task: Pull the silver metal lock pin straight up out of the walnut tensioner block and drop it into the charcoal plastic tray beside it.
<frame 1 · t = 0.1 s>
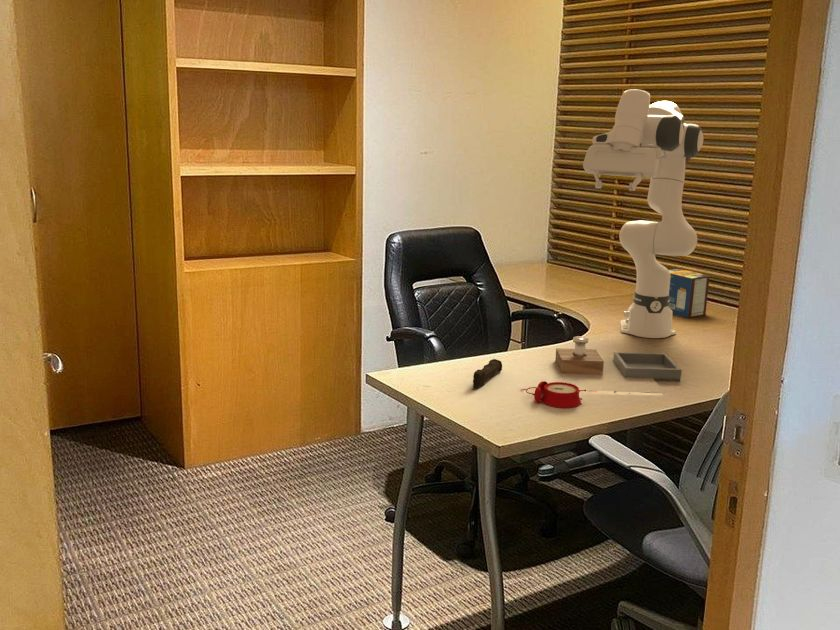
hand: (614, 188, 227), 54 cm above the table, tool tilted 30°, fingers open, 8 cm apart
hand tool: (486, 381, 234), on the table
protein box: (680, 312, 319), on the table
tray: (645, 371, 245), on the table
tensioner block: (578, 369, 245), on the table
alarm clock: (554, 402, 219), on the table
lock pin: (578, 367, 245), point 1 cm above the table, touching tensioner block
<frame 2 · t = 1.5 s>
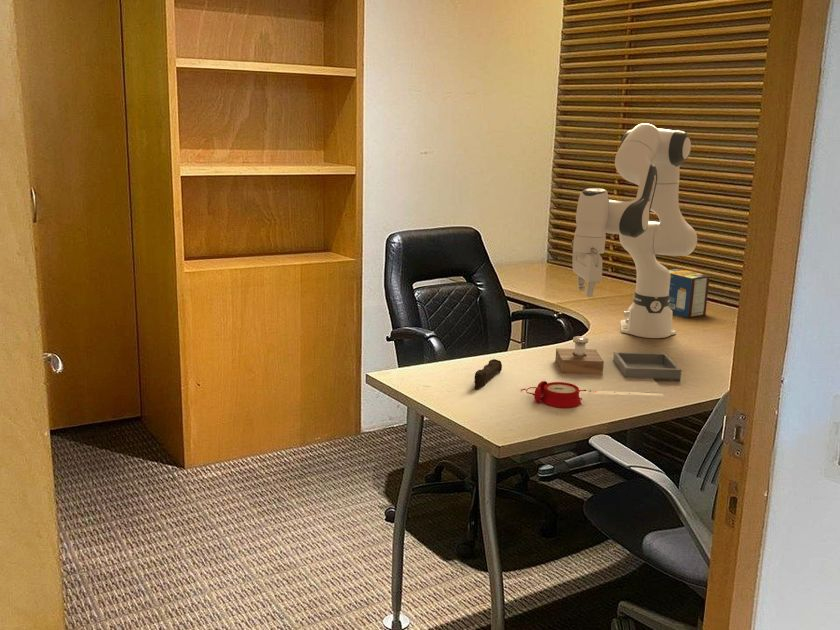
hand: (584, 293, 238), 24 cm above the table, tool pointing down, fingers open, 8 cm apart
nothing on the table moved.
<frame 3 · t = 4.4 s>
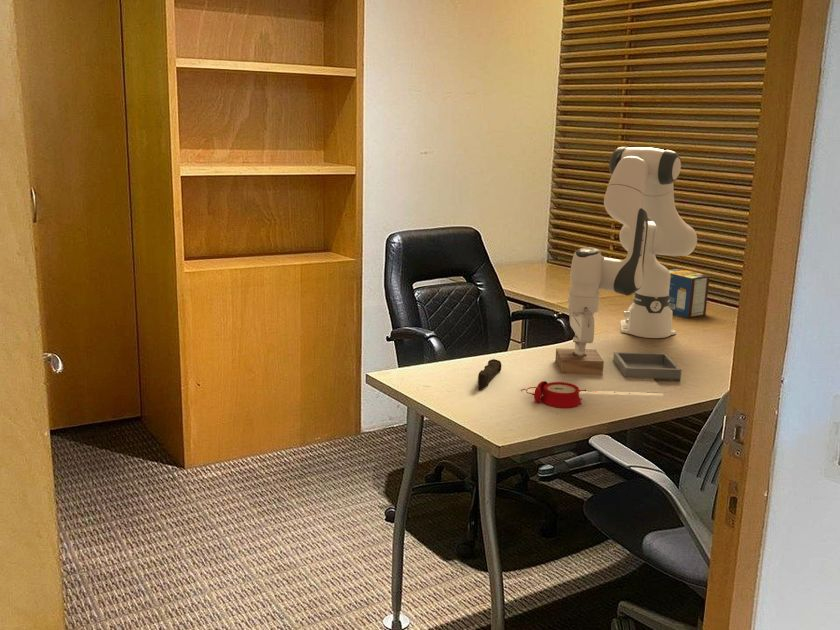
hand: (579, 349, 243), 6 cm above the table, tool pointing down, fingers closed on lock pin, 3 cm apart
lock pin: (578, 367, 245), point 1 cm above the table, touching gripper, tensioner block
when the fingers open (8 cm above the table, at t = 11.7 s): lock pin moves 4 cm, resting on tray.
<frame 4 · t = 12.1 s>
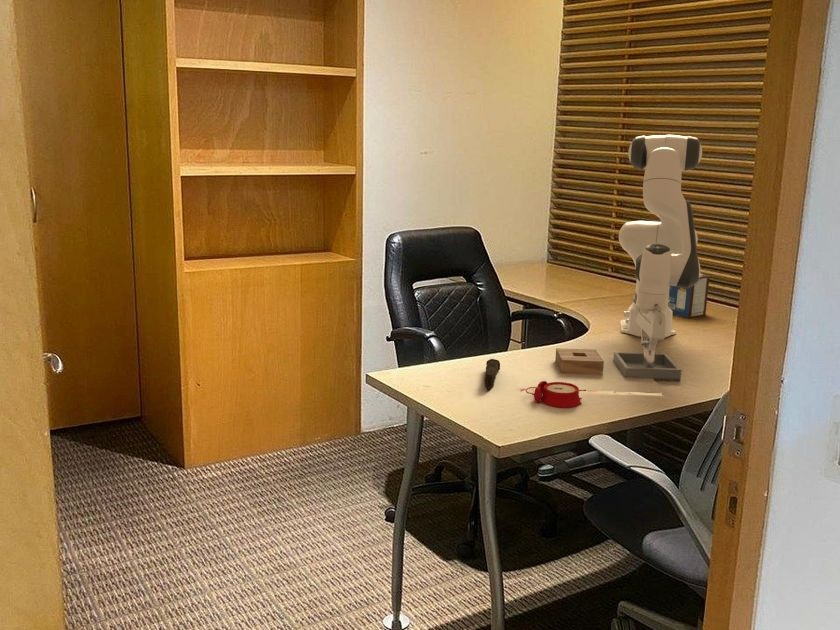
hand: (648, 346, 243), 8 cm above the table, tool pointing down, fingers open, 7 cm apart
lock pin: (649, 371, 241), point 1 cm above the table, tilted 24°, touching tray
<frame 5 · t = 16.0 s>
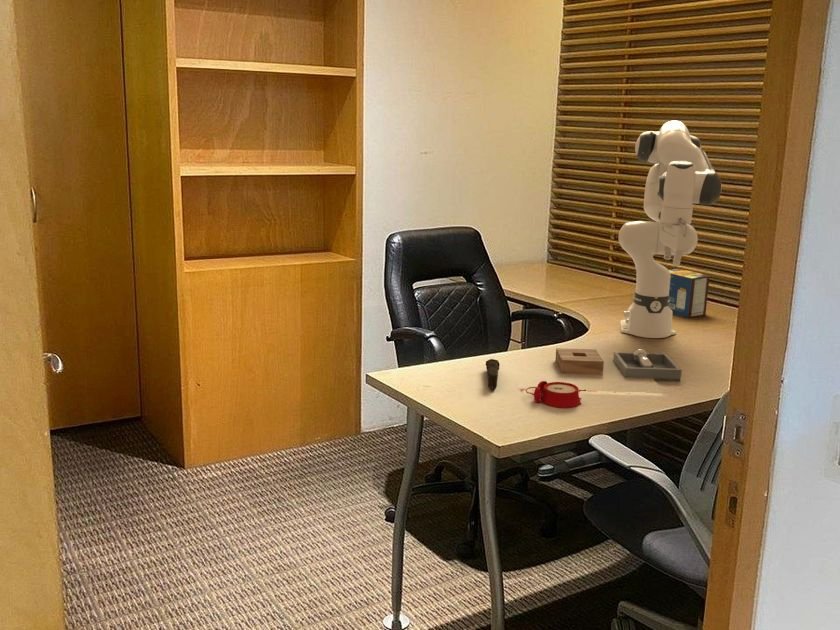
hand: (671, 262, 249), 31 cm above the table, tool pointing down, fingers open, 8 cm apart
lock pin: (648, 367, 242), point 2 cm above the table, tilted 85°, touching tray
at the end: lock pin inside the target area on the tray (2.7 cm from its centre), point 2.3 cm above the tray's base; the gripper is holding nothing; lock pin touching tray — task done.
